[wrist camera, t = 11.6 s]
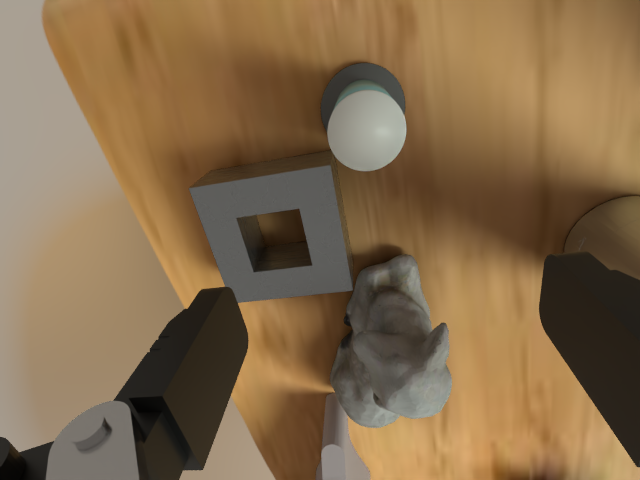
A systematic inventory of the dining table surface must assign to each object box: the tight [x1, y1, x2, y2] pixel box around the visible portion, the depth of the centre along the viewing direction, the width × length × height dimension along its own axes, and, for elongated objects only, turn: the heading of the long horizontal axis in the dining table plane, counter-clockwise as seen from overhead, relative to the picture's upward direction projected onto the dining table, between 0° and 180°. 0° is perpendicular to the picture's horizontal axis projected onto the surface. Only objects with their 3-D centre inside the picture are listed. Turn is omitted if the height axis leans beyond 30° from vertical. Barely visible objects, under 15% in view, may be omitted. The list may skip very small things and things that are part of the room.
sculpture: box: [330, 254, 452, 428], centre depth 35 cm, size 11×21×15 cm, turn 3°
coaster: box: [321, 63, 405, 131], centre depth 30 cm, size 7×7×1 cm
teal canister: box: [327, 79, 406, 171], centre depth 25 cm, size 5×5×10 cm
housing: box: [189, 150, 353, 303], centre depth 33 cm, size 12×12×5 cm
